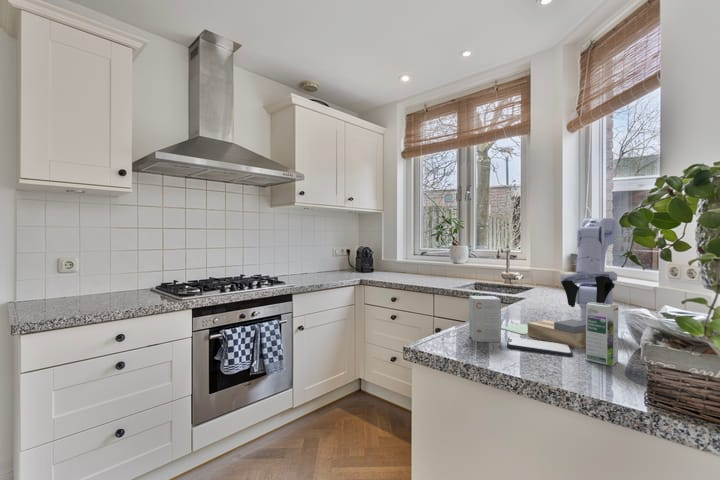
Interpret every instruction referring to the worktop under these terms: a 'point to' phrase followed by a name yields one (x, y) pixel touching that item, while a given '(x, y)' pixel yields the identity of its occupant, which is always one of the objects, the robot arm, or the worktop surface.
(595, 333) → the syrup box
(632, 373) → the worktop surface
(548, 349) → the phone case
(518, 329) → the mat
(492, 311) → the small box
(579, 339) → the wooden block
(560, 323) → the tile
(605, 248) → the robot arm
